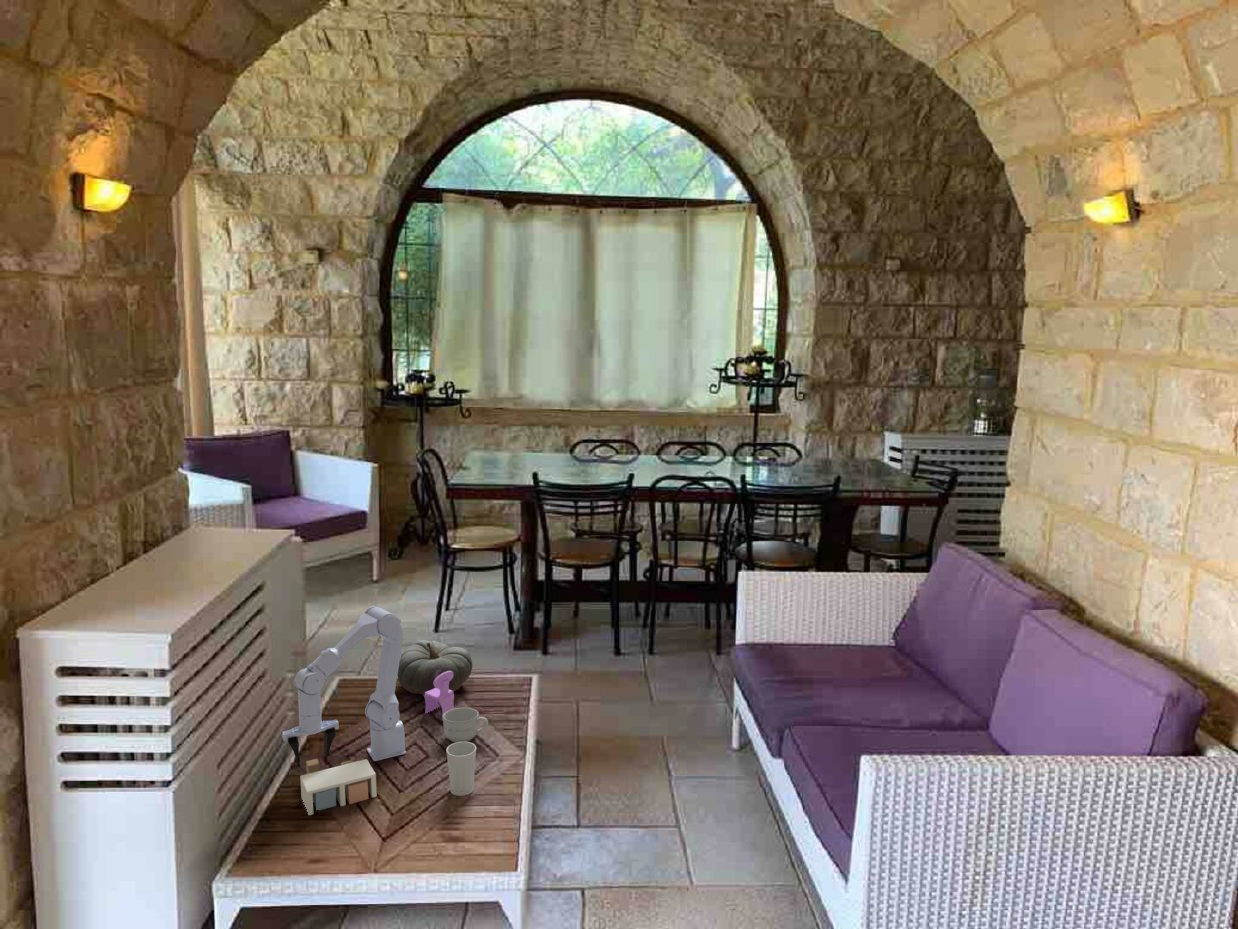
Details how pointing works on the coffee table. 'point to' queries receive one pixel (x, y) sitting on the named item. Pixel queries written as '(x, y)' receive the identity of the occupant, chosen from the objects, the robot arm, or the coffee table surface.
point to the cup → (461, 767)
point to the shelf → (337, 781)
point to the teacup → (462, 724)
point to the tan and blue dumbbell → (323, 797)
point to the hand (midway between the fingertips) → (312, 758)
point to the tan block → (356, 789)
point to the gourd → (432, 666)
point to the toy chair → (440, 694)
